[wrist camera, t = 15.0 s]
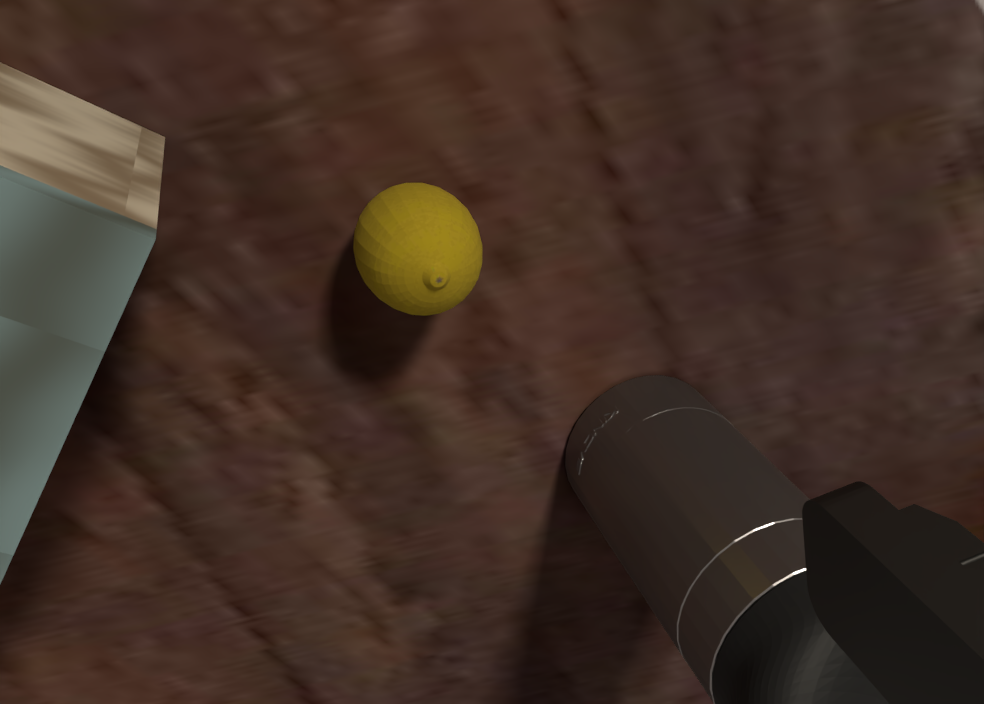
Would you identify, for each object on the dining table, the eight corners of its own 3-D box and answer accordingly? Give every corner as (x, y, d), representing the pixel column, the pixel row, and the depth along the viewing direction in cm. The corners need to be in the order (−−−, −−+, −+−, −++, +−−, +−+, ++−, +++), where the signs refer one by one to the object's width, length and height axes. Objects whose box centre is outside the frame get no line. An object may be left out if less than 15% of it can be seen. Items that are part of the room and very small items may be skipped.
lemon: (371, 294, 46) (404, 364, 39) (321, 194, 43) (348, 250, 36) (472, 245, 46) (522, 306, 39) (430, 144, 44) (476, 190, 37)
